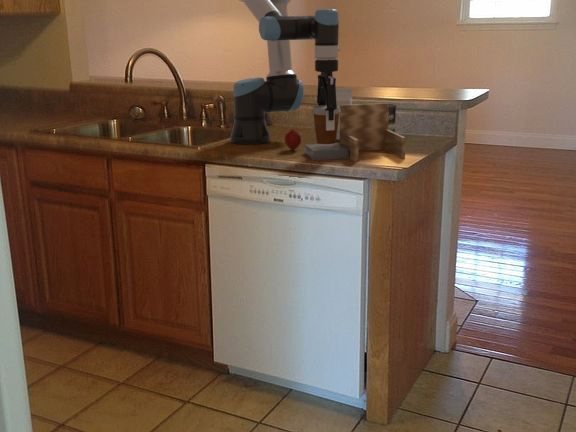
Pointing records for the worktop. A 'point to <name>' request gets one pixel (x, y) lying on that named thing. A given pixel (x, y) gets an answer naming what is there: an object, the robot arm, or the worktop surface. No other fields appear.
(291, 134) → the onion
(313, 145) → the trivet
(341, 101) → the milk carton
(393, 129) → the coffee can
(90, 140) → the worktop surface
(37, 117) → the worktop surface
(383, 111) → the brown patterned armchair
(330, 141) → the disposable coffee cup
